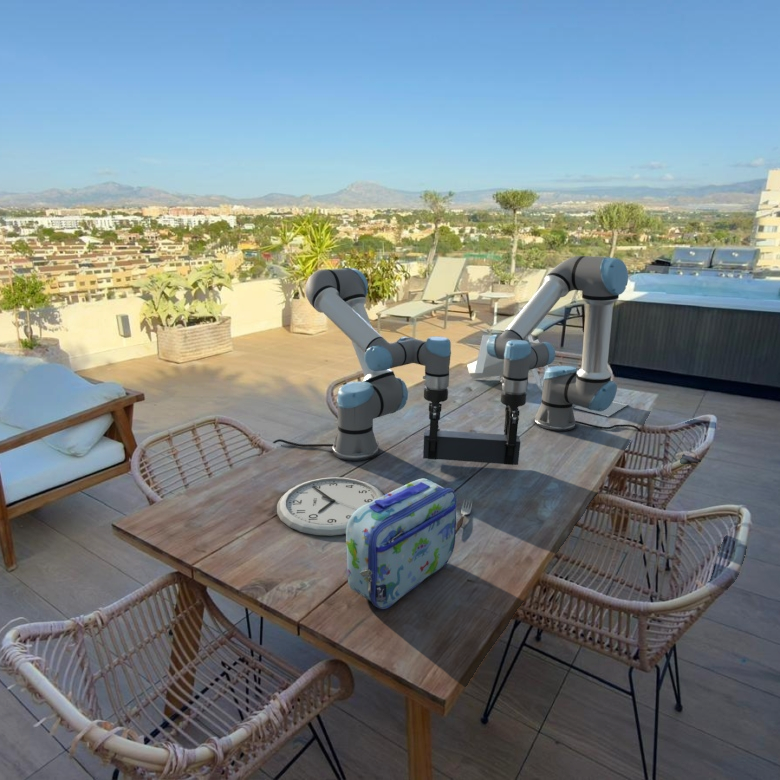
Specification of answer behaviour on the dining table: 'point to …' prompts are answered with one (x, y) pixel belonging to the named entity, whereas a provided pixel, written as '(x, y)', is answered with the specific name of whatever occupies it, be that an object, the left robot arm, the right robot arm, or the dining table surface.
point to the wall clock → (324, 504)
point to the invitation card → (609, 411)
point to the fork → (464, 512)
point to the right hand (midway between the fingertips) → (507, 459)
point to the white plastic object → (494, 363)
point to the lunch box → (400, 540)
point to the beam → (471, 447)
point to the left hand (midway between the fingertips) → (432, 454)
